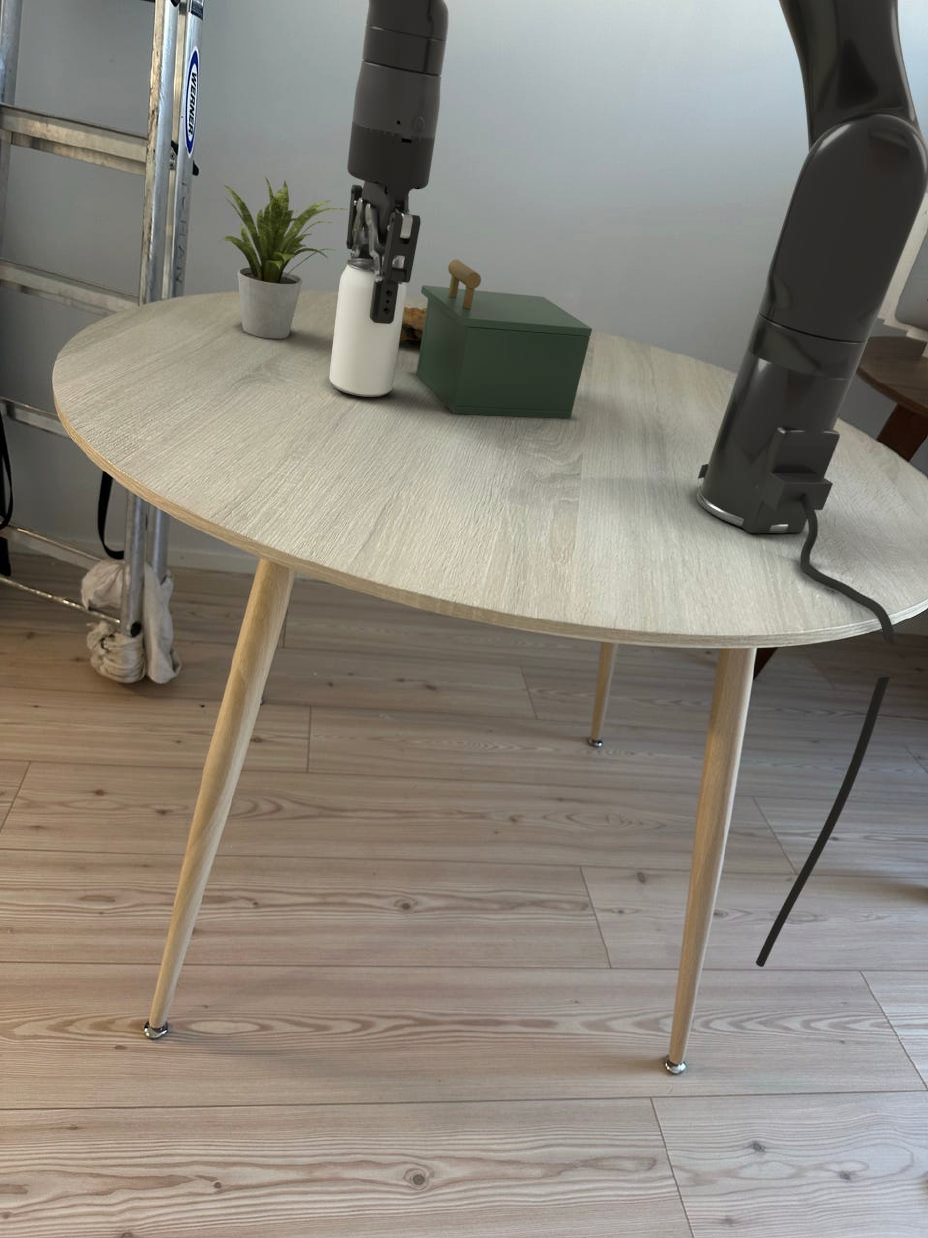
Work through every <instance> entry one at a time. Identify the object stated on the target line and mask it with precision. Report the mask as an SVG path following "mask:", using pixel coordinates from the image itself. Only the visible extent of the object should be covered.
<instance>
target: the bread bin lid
mask: <svg viewBox="0 0 928 1238" xmlns="http://www.w3.org/2000/svg"><path fill="white" fill-rule="evenodd" d="M447 271H448V273H449V274H450V275H451V278H450V283H449V287H446V286H445V287H444V286H436V285H435V286H434V285H425V284H422V285H421V290H420V293H421V294H422V295H423V296H424V297H426V298H427V300H428V299H429V300H430V301H432V302H433V303H434V304H435V305H436V306H438V307H439V308H440V309H441V310H442V311H444V312H445V313H446V314H447V315H448V316H450V317H451V318H452V319H453V320H454V321H456V322H457V323H458V324H459V325H460V326H468V327H480V328H493V329H505V330H518V331H530V332H543V333H555V334H568V335H581V336H589V337H591V335H592V332H593V328H592V327H590V326H588V325H587V324H586V323H584V322H583V321H581V320H579V319H578V318H577V317H575V316H574V315H572V314H570V313H568V311H566V310H564V309H563V308H561V307H560V306H559V305H557V304H555V303H554V302H553V301H550V299H547V298H546V297H544V296H538V295H529V294H518V293H508V292H496V291H486V290H476V289H477V288H478V287H479V286H480V285H481V283H482V277H481V275H480V274H479V273H478V272H477V271H475V270H474V269H473V268H471V267H470V266H468V265H467V264H465V263H464V262H463V261H462V260H459V259H453V260H451V261H450V262H449V264H448V267H447ZM460 283H462V284H463V285H464V286H465V288H459V286H460Z"/></svg>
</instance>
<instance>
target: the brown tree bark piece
mask: <svg viewBox="0 0 928 1238" xmlns="http://www.w3.org/2000/svg"><path fill="white" fill-rule="evenodd" d="M426 309H427V307H425V308H418V307H407V306H404V312H403V319H402V326H401V333H400V340H399V342H404V341H407V340H410V341H421V340H422V334H423V328H424V322H425V315H426Z"/></svg>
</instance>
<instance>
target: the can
mask: <svg viewBox="0 0 928 1238" xmlns="http://www.w3.org/2000/svg"><path fill="white" fill-rule="evenodd" d="M392 267H394V263H392ZM374 275H375V265H374V260H373V259H363V258H354V259H351V258H349V259H347V260H346V267H345V269H343V272H342V274H341V275H340V279H339V287H338V295H337V302H336V303H337V304H336V313H335V322H334V332H333V340H332V348H331V358H330V365H329V367H330V368H329V381H330V383H331V384H332V386H333V387H334V388H335V389H337V390H339V391H341V392H342V393H346V394H349V395H353V396H358V397H366V398H367V397H368V398H376V397H377V398H378V397H382V396H386V395H388V393H390V391H392V389H393V386H394V379H395V374H396V366H397V360H398V353H399V346H400V341H399V340H400V333H401V326H402V319H403V312H404V307H405V303H406V296H407V283H405V282H403V283H402V284H398V285H399V286H398V293H397V300H396V307H395V314H394V320H393V322H392V323H391V324H382V323H374V322H373V321H372V320H371V319H370V310H371V302H372V294H373V287H374V281H375V276H374Z"/></svg>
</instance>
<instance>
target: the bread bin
mask: <svg viewBox="0 0 928 1238" xmlns="http://www.w3.org/2000/svg"><path fill="white" fill-rule="evenodd" d="M426 308H427V309H426V315H425V322H424V328H423V334H422V340H420V341H421V342H420V347H419V354H418V360H417V366H416V372H415V375H416V377H418V378H419V380H421V381H422V383H423V384H424V385H425V386H426V387H427V388H428V389H429V390H430V391H431V392H432V393H433V394H434V395H435V396H436V397H437V398H438V399H439V400H440V402H442V403H443V405H444V406H445V407H447V409H448V410H449V411H450V412H451V413H452V414H453V415H477V416H498V417H499V416H501V417H505V416H506V417H525V418H526V417H527V418H547V419H548V418H549V419H550V418H551V419H552V418H553V419H571V417H572V411H573V408H574V405H575V401H576V397H577V393H578V389H579V383H580V379H581V377H582V372H583V367H584V363H585V359H586V356H587V352H588V347H589V344H590V343H589V342H590V339H591V336H581V335H568V334H555V333H543V332H530V331H518V330H505V329H493V328H480V327H468V326H460V325H459V324H458V323H457V322H456V321H454V320H453V319H452V318H451V317H450V316H448V315H447V314H446V313H445V312H444V311H442V310H441V309H440V308H439V307H438V306H436V305H435V304H434V303H433V302H432V301H430V300H429V299H428V298H427V303H426Z"/></svg>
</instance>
